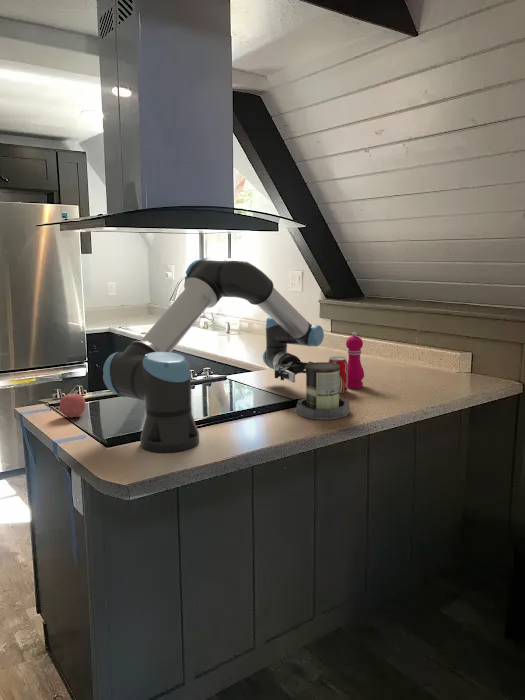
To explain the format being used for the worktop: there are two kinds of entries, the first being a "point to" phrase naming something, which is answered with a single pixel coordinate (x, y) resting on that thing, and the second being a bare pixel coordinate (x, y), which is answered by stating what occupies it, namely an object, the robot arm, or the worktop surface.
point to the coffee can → (322, 385)
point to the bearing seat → (323, 411)
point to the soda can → (341, 372)
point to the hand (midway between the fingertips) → (313, 376)
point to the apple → (72, 405)
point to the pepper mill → (354, 362)
